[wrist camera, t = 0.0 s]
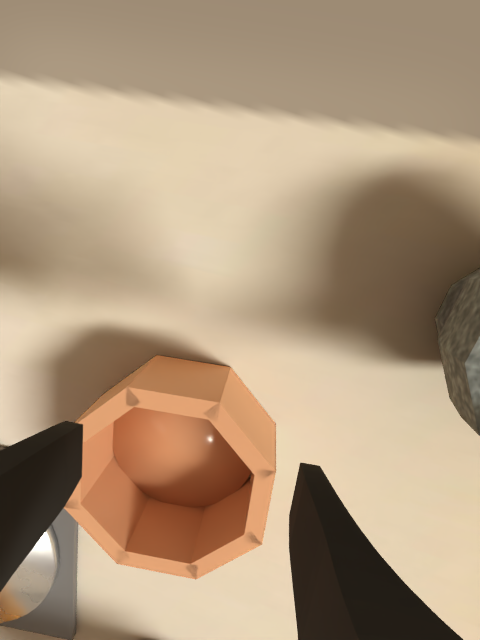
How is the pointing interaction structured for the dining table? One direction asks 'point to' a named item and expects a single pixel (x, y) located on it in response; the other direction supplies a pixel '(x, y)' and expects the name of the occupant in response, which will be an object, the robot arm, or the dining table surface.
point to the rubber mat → (57, 588)
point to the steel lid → (31, 578)
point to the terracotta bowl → (176, 468)
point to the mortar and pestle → (462, 346)
